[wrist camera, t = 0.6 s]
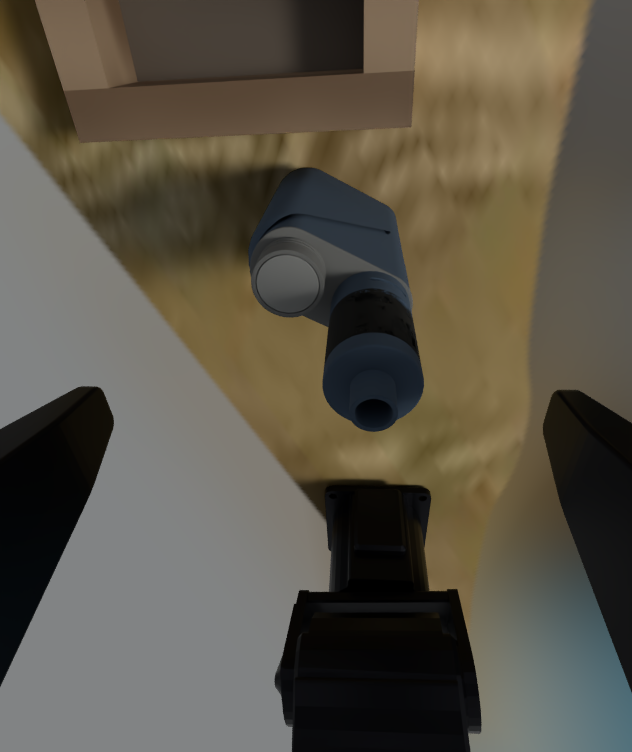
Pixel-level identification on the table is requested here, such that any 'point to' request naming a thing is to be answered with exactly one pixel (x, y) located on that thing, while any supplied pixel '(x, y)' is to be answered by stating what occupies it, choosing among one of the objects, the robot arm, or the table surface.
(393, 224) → the vaping device
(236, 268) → the table surface
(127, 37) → the socket block
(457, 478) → the table surface
